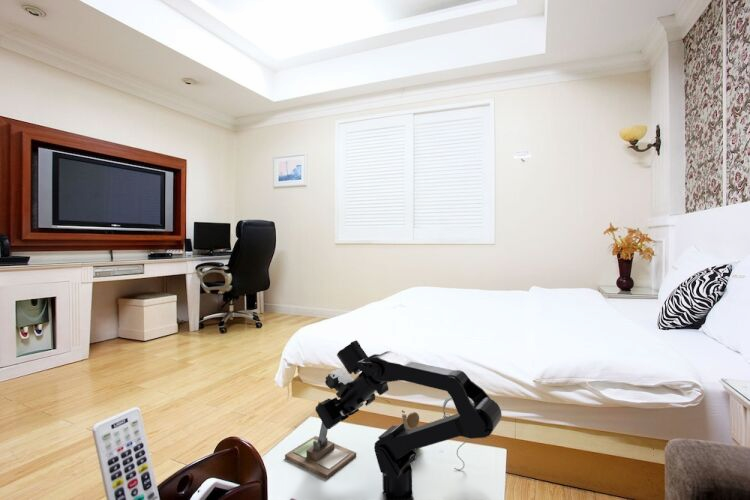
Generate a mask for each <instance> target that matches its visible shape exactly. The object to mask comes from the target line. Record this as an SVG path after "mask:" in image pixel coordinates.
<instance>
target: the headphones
mask: <svg viewBox="0 0 750 500" xmlns="http://www.w3.org/2000/svg"><path fill="white" fill-rule="evenodd" d="M468 398H469V397H468ZM450 400H452V397H451V396H450V395H449V396H447V398H446V399H444V401H443V405H442V412H443V415H442V418H446V417H449V416H451V415H450V414H448V413H446V412H445V410H446V409H445V408H446V406H447V404H448V403H449V401H450ZM469 400H470V402H471V404H472V403H473V400H472V399H470V398H469ZM469 440H470V439H469V438H466V440H465V441H464V442H462V444H461V445H459V447H457V450H456V456H457V458H458V459H459V460H460V461H461V463H463V466H462V468H456V467H454V470H457V471H462V470H463V469H464V468H465V462H464V460H463V459H462V458H461V457H460V455H458V451H459V449H460V448H461V447H462V446H463V445H465V444H466V443H467V442H468V441H469Z"/></svg>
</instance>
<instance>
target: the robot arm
mask: <svg viewBox="0 0 750 500" xmlns="http://www.w3.org/2000/svg"><path fill="white" fill-rule="evenodd" d="M336 357H337V358H338V359H339V361H340V363H342V365H343V367H344V368H345V369H346V370H344V368H342V367H339V368H337V369H334V370H332V371H330V373H329V374H327V376H326V377H325V382H324V383H325V385H326V386H327V387H328V388H329V389H330V390H333V389H334V390H335V391H337V392H336V393H335V395H336V397H334V398H327V399H325V400H323V401H321V402H319V403H318V404H317V405H316V406H315V410H314V411H315V413H317V415H318V417H319V419H320V421H321V423H322V422H323V424H324V425H325V427H326V428H327V429H328V430H331V429H332V428H333V427H335V426H337V425H338V424H339V423H340V422H343V421H345V420H347V419H348V418H350V416H353V415H354V414H356V413H358V412H359V411H360V410H359V409H360V408H361V407H363V405H365V407H367V406H369V405H371V404H372V403H374V401H375V400H376V394H375V392H376V393H378V395H379V396H382V395H383V394H385V393H386V392H388V391H389V385H388V383H389V382H390V383H391V382H400V381H401V382H403V381H404V382H408V383H410V384H411V383H412V384H415V385H420V386H424V387H427V388H428V387H429V388H432V389H436V390H441V391H445V392H447V393H448V395H449V396H451V397H452V399H451V400H452V402H453V404H454V407H455V409H456V411H457V413H455V414H453V415H450V416H449V415H448V417H446V418H444V417H442V418H439V419H437V420H434V421H431V422H428V423H425V424H422V425H418V427H416V428H413V429H407V428H405V426H404V423H403V422H401V423H399V424H398V425H391V426H390V427H389V428H388V429H387V430H386V431H384V432H383V433H381V435H379V436H378V437H377V438H378V439H377V440H376V442H374V454H375V457H376V460H377V464H378V467H379V472H380V473H381V474H382V476H381V477H382V493H383V494H384V495H385V500H414V498H415V496H414V492H413V468H412V464H413V462H415V461H416V458H417V455H418V454H417V452H416V450H418V449H421V448H425V447H429V446H431V445H432V446H433V445H435V444H438V443H441V442H446V441H449V440H451V439H455V438H459V437H463V438H466V439H468V438H469V439H468V440H470V439H471V440H472V439H475V440H476V439H484V438H485V439H486V438H488V437H490V435H491V434H492V433H493V431H494V430H495V429H496V427H497V426H498V424H499V423H500V422H501V420H502V416H503V415H502V410H501V408H500V406H499V404H498V403H497V402H496V401H495V400H494V399H491V397H490V396H489V395H488V394H487V392H486V391H485V390H484V389H483V388H482V387H480V386H479V385H478V384H476V383H475V382H474V381H472V380H471V378H470V377H469V376H468V375H467V374H466V373H465V372H464V371H462V370H461V369H460V370H458V369H455V370H453V369H449V368H444V367H439V366H436V365H435V366H434V365H429V364H424V363H419V362H416V361H415V362H414V361H412V360H411V361H410V360H408V359H406V358H405V357H404V356H403V355H402V354H398V353H396V352H393V351H392V350H387V351H384V352H382V353H380V354H377V353H375V354H372V355H370V356H368V354H366V352H365V351H364V349H363V348H362V346H361V344H360V343H359V340H356V339H355V340H353V341H351V342H350V343H349V344H347V345H346V346H344V347H343V348H342V349H340V350H339V351H338V352H337V354H336ZM352 374H354V375H357V374H358V375H357V376H356V377H355V378H353V376H352ZM469 398H470V400H471V401H472V404H471V402H470V400H469Z"/></svg>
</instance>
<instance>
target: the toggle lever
mask: <svg viewBox="0 0 750 500" xmlns="http://www.w3.org/2000/svg"><path fill="white" fill-rule="evenodd" d="M328 431H329V429H327V428H326V427H325V425H324V424H323V422H322V421H321V426H320V431H319V436H318V437H319V439H318V442H320V448H321V447H322V446H324V445H325V441H326V437H327V435H328Z"/></svg>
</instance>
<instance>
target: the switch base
mask: <svg viewBox="0 0 750 500" xmlns="http://www.w3.org/2000/svg"><path fill="white" fill-rule="evenodd" d="M318 439H319V436H317V435H314V436H313V437H311V438H310V439H308V440H306V441H304V443H302V444H300V445H298V446H297V447H295V448H293V449H292V450H290V451H288V452H286V453H285V454H284V459H286V460H289V461H290V462H292V463H294V464H296V465H298V466H300V467H302V468H304V469H306V470H308V471H310V472H312V473H314V474H316V475H318V476H320V477H322V478H324V479H326V480H328V479H329V478H330V477H332V476H333V475H334V474H336V473H337V472H338V471H339V470H341V469H342V468H343V467H344V466H346V465H347V464H348V463H350V461H352V460H353V459H355V457H357V452H355V451H353V450H350V449H348V448H346V447H344V446H341V445H339V444H336V443H335V442H332V441H330V440H329V439H328V437H327V436H326V441H325V445H324V446H322V447H321V448H320V442H318Z"/></svg>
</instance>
